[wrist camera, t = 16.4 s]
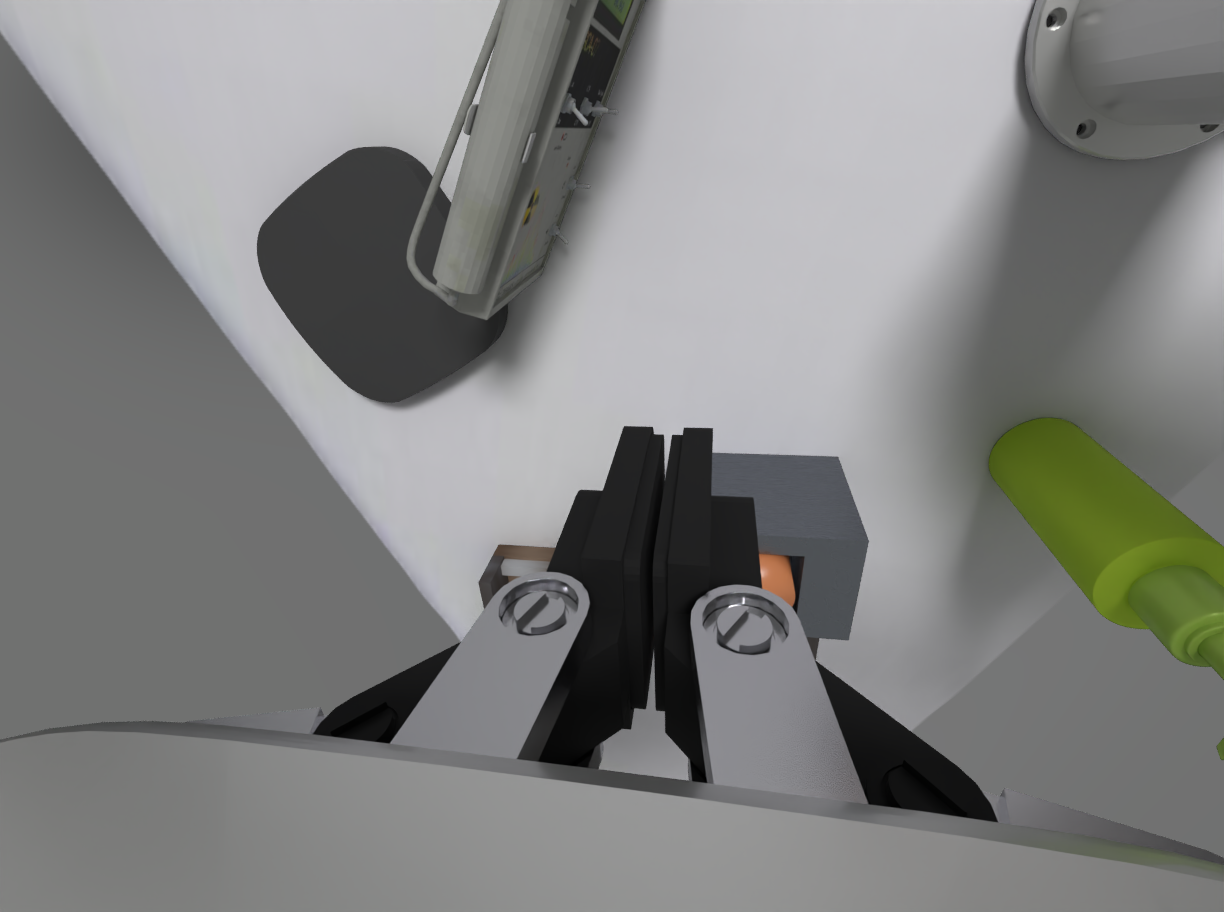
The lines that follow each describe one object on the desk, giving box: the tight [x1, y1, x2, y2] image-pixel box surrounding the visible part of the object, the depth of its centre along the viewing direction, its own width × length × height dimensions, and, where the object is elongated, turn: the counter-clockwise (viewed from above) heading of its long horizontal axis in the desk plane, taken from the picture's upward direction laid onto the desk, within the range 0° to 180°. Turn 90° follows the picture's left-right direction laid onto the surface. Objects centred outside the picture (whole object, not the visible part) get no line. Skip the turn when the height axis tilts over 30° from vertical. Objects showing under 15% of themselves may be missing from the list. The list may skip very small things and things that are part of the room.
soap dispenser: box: [989, 418, 1224, 760], centre depth 31 cm, size 6×7×20 cm
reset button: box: [759, 554, 795, 607], centre depth 37 cm, size 4×4×4 cm
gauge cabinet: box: [711, 453, 869, 640], centre depth 40 cm, size 12×8×10 cm
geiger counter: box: [406, 0, 646, 320], centre depth 26 cm, size 14×6×25 cm
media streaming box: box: [257, 147, 508, 402], centre depth 40 cm, size 15×15×3 cm
